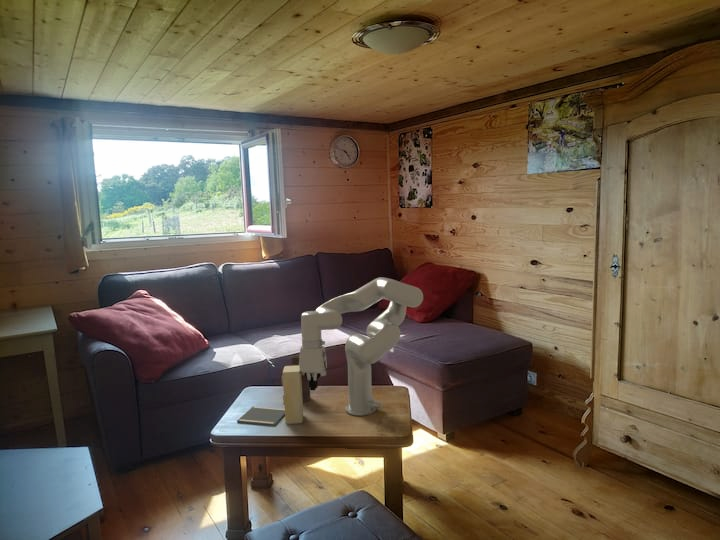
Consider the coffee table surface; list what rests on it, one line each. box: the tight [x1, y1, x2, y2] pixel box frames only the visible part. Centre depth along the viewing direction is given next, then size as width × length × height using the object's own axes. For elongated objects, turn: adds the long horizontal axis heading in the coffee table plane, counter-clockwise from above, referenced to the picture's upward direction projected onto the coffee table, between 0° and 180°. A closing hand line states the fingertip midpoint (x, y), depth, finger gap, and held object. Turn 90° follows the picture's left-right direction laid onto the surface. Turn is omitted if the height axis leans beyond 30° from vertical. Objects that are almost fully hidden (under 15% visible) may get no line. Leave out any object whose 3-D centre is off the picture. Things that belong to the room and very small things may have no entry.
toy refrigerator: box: [281, 365, 304, 425], centre depth 194 cm, size 8×7×21 cm
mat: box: [236, 406, 285, 427], centre depth 198 cm, size 16×14×1 cm
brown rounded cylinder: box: [290, 354, 311, 403], centre depth 214 cm, size 8×7×20 cm
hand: (313, 389), depth 191 cm, fingers closed
